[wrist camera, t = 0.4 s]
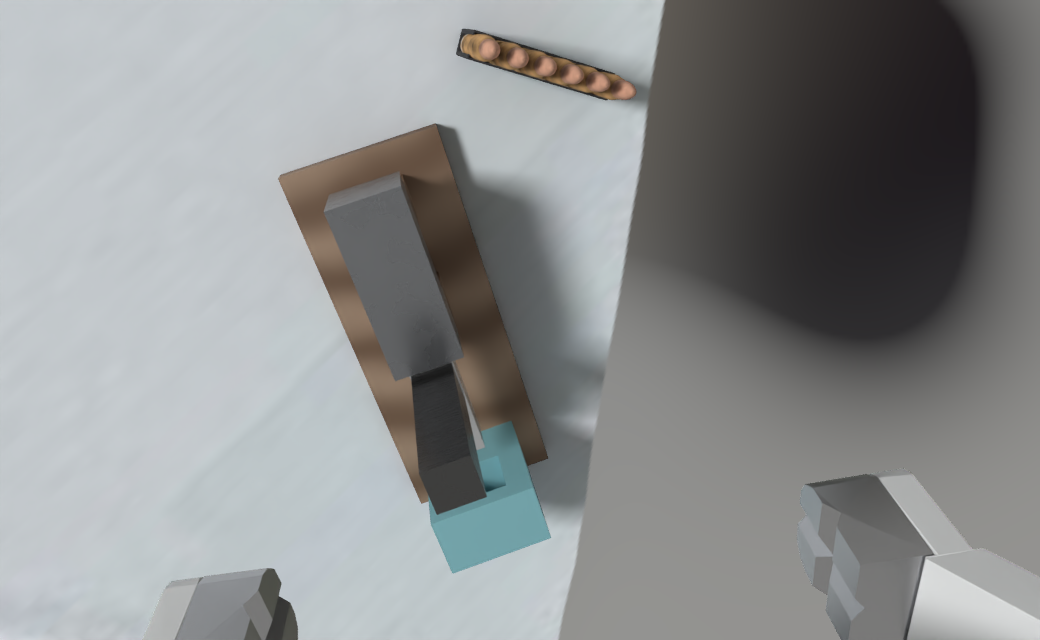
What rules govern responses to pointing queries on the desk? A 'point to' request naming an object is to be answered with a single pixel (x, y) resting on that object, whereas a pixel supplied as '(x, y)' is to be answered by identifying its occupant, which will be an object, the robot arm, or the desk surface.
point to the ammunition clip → (542, 66)
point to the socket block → (493, 507)
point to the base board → (459, 274)
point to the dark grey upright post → (447, 438)
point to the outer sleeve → (394, 275)
